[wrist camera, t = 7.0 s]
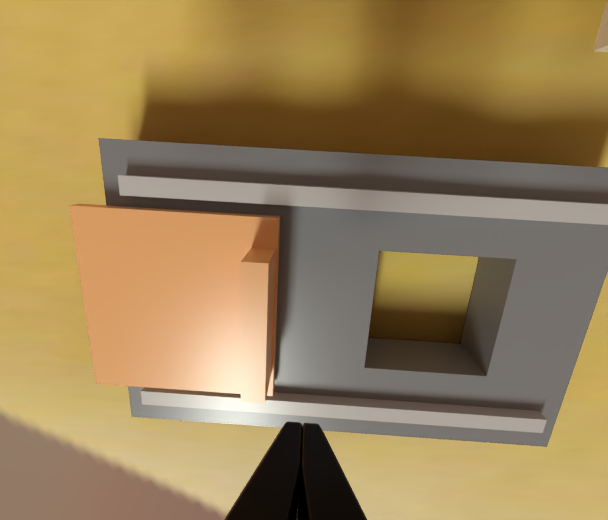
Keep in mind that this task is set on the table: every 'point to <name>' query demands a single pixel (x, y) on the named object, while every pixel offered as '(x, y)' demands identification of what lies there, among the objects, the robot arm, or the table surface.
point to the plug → (602, 33)
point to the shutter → (180, 297)
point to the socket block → (362, 274)
